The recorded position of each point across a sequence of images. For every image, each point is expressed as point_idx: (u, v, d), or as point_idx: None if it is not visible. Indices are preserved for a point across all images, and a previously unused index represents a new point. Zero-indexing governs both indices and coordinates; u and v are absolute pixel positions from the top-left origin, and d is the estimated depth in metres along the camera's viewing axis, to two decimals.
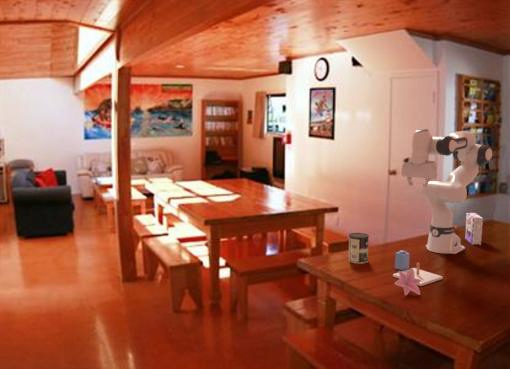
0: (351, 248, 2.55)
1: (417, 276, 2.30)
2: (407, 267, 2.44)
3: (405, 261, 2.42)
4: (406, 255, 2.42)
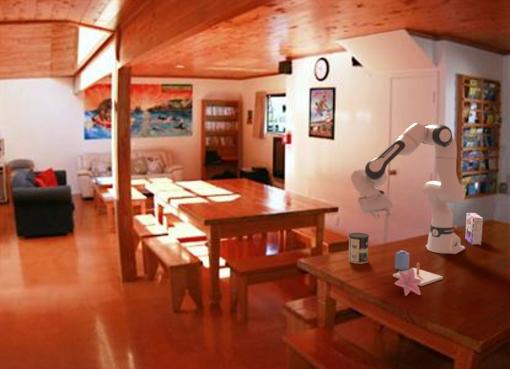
0: (351, 248, 2.55)
1: (417, 276, 2.30)
2: (407, 267, 2.44)
3: (405, 261, 2.42)
4: (406, 255, 2.42)
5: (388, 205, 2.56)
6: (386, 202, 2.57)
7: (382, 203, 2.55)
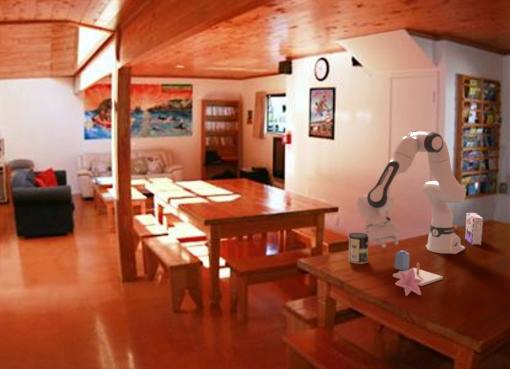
0: (351, 248, 2.55)
1: (417, 276, 2.30)
2: (407, 267, 2.44)
3: (405, 261, 2.42)
4: (406, 255, 2.42)
5: (395, 232, 2.54)
6: (392, 229, 2.55)
7: (389, 231, 2.53)
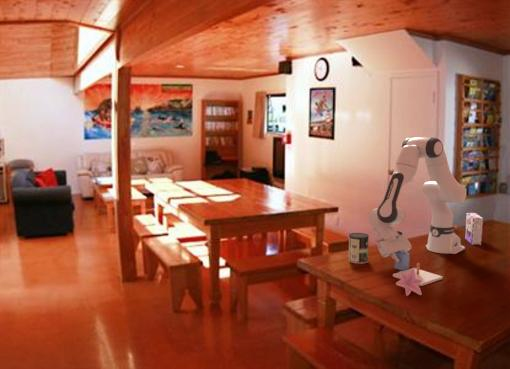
0: (351, 248, 2.55)
1: (417, 276, 2.30)
2: (407, 267, 2.44)
3: (405, 261, 2.42)
4: (406, 255, 2.42)
5: (407, 247, 2.49)
6: (404, 243, 2.50)
7: (401, 245, 2.48)
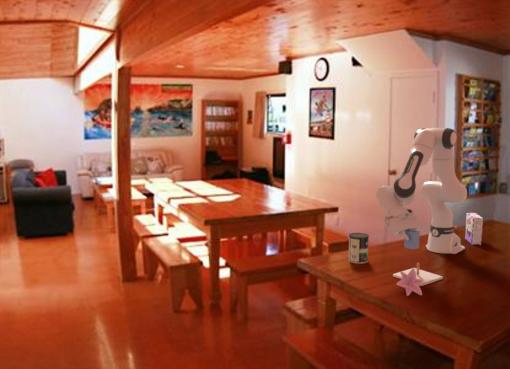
0: (351, 248, 2.55)
1: (417, 276, 2.30)
2: (417, 246, 2.33)
3: (415, 239, 2.32)
4: (416, 233, 2.31)
5: (417, 225, 2.38)
6: (414, 222, 2.39)
7: (411, 223, 2.37)
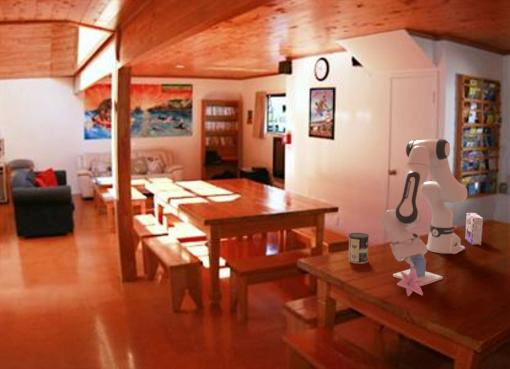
0: (351, 248, 2.55)
1: None
2: (423, 273, 2.30)
3: (421, 267, 2.29)
4: (422, 261, 2.29)
5: (423, 250, 2.35)
6: (420, 246, 2.36)
7: (416, 249, 2.34)
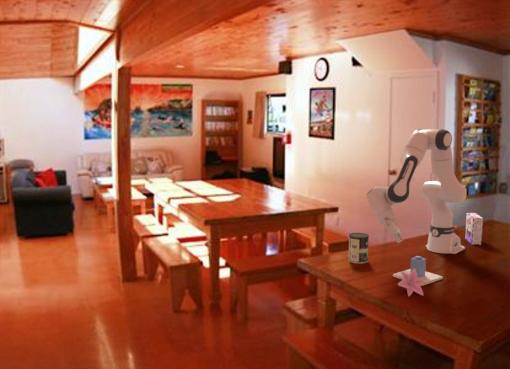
0: (351, 248, 2.55)
1: None
2: (423, 274, 2.30)
3: (421, 267, 2.29)
4: (422, 261, 2.29)
5: (399, 230, 2.49)
6: (397, 226, 2.49)
7: (397, 227, 2.46)
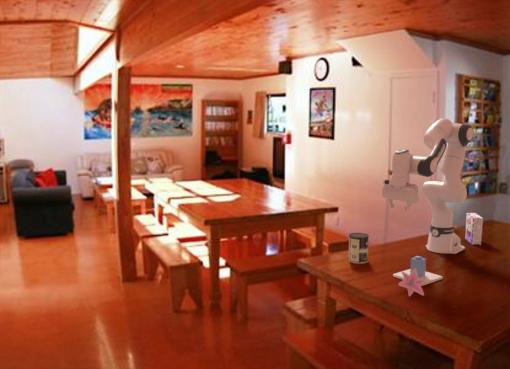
0: (351, 248, 2.55)
1: None
2: (423, 274, 2.30)
3: (421, 267, 2.29)
4: (422, 261, 2.29)
5: None
6: None
7: None
